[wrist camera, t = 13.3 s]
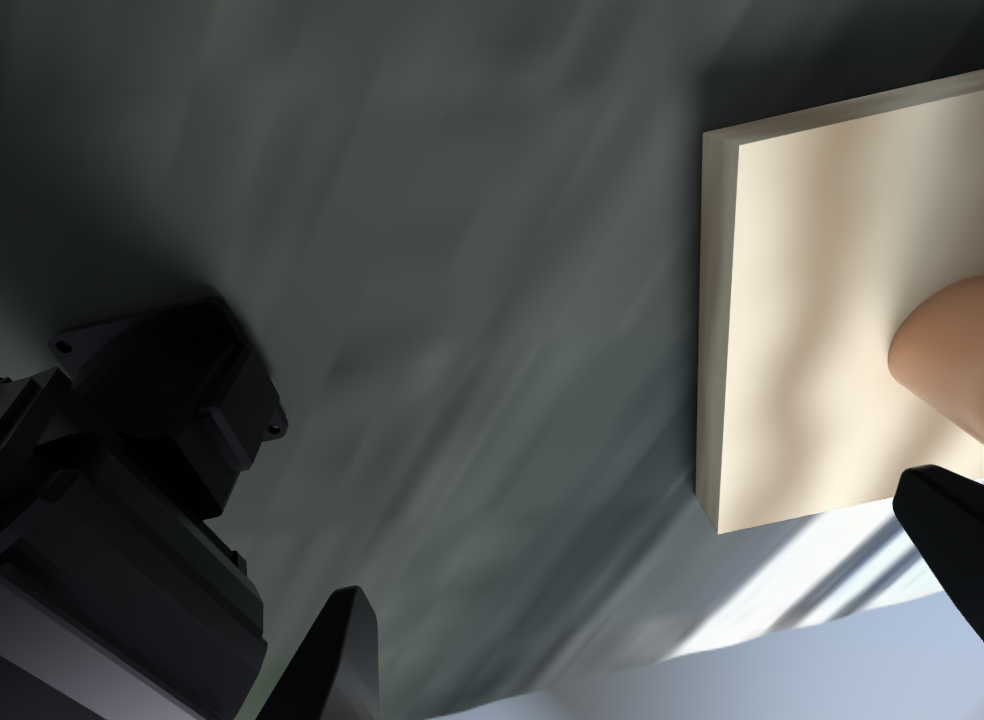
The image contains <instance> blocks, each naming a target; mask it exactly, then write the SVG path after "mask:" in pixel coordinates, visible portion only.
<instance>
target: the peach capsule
mask: <svg viewBox="0 0 984 720" xmlns="http://www.w3.org/2000/svg"><path fill="white" fill-rule="evenodd" d="M888 368H889V371H890V373H891V375H892V377H893V378H894V379H895V380H896V381H897V382H898V383H899V384H901V385H902V386H904V387H905V388H906V389H908V390H909V391H910V392H912V393H913V394H914V395H916V396H917V397H918V398H920V399H921V400H923V401H924V402H925V403H927V404H928V405H929V406H931V407H932V408H933V409H935V410H936V411H937V412H939V413H940V414H942V415H943V416H944V417H946V418H947V419H948V420H950V421H951V422H952V423H954V424H955V425H956V426H958V427H959V428H961V429H962V430H963V431H965V432H966V433H967V434H969V435H970V436H971V437H973V438H974V439H975V440H977V441H978V442H980V443H981V444H982V445H984V276H978V277H971V278H968V279H964V280H961V281H958V282H956V283H953V284H951V285H949V286H947V287H945V288H943V289H941V290H940V291H938V292H936V293H935V294H933V295H932V296H930V297H929V298H927V299H926V300H925V301H924V302H922V303H921V304H920V305H919V306H918V307H917V308H916V309H915V310H914V311H912V312H911V314H910V315H909V316H908V317H907V318H906V319H905V320H904V322H903V323H902V325H901V326H900V327H899V329H898V331H897V332H896V334H895V336H894V338H893V340H892V342H891V345H890V348H889V353H888Z"/></svg>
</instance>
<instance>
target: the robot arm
mask: <svg viewBox="0 0 984 720" xmlns="http://www.w3.org/2000/svg"><path fill="white" fill-rule="evenodd" d="M207 308H213V309H215V310H216V311H217V312H218V315H212V314H210V313H209V312H208V309H207ZM63 341H65V342H67V343H69V344H70V345H71V347H72V348H71V347H68V346H66V345H65V344H64V343H63ZM48 346H49V348H50V350H51V351H52V352H53V354H54V355H55V356H56V358H57V359H58V360H59V362H60V363H61V364H62V366H63V367H64V368H65V369H66V371H67V372H68V373H69V375H70V376H71V377H70V378H68V377H67V376H66V375H65V374H64V373H63V372H62V371H61V370H60V369H59V368H58V367H54V368H51V369H49V370H46V371H44V372H41V373H38V374H36V375H33V376H30V377H28V378H24V379H20V380H16V381H12V380H11V379H10V378H9V377H6V378H0V720H234V719H235V717H236V716H237V714H238V712H239V710H240V708H241V707H242V705H243V703H244V701H245V699H246V697H247V695H248V693H249V692H250V690H251V688H252V686H253V684H254V682H255V680H256V678H257V676H258V674H259V672H260V669H261V666H262V663H263V660H264V657H265V654H266V651H267V644H268V643H267V642H266V640H265V639H264V638H263V637H262V634H263V602H262V600H261V598H260V596H259V594H258V591H257V589H256V587H255V585H254V584H253V583H252V582H251V581H250V580H249V579H248V578H247V565H246V560H245V559H244V558H243V557H242V556H241V555H240V554H239V553H238V552H237V551H231V550H230V549H229V548H228V547H227V546H226V545H225V544H224V543H223V542H222V541H221V540H220V539H219V538H218V536H217V535H216V534H215V533H214V532H213V531H212V530H211V529H210V528H209V527H208V526H207V525H206V524H205V523H204V522H203V520H206V519H210V518H215V517H218V516H220V515H221V514H222V513H223V510H224V508H225V506H226V504H227V501H228V499H229V497H230V494H231V492H232V490H233V488H234V485H235V483H236V481H237V478H238V476H239V474H240V472H241V471H245V470H249V469H250V467H251V465H252V464H253V462H254V459H255V457H256V455H257V452H258V450H259V447H260V445H261V443H262V442H265V441H270V440H274V439H279V438H281V437H283V436H284V435H285V434H286V431H287V428H288V421H287V419H286V417H285V415H284V413H283V411H282V409H281V407H280V405H279V404H278V402H279V399H280V397H279V395H278V393H277V391H276V389H275V387H274V385H273V383H272V381H271V379H270V377H269V375H268V373H267V372H266V370H265V368H264V366H263V364H262V362H261V360H260V358H259V356H258V354H257V352H256V350H255V349H254V348H253V347H251V346H250V345H248V344H247V342H246V340H245V338H244V336H243V334H242V332H241V331H240V329H239V327H238V325H237V323H236V321H235V319H234V317H233V315H232V313H231V311H230V309H229V307H228V306H227V305H226V303H225V302H224V301H222V300H221V299H219V298H216V297H207V298H202V299H198V300H193V301H189V302H185V303H180V304H176V305H171V306H167V307H162V308H158V309H153V310H149V311H145V312H140V313H136V314H131V315H127V316H122V317H118V318H113V319H109V320H105V321H100V322H96V323H91V324H87V325H82V326H78V327H73V328H69V329H65V330H61V331H59V332H57V333H56V334H55V335H53V336H52V337H51V338H50V339H49V341H48ZM271 425H276V426H278V427H279V428H273V427H272V426H271ZM892 504H893V510H894V513H895V516H896V518H897V519H898V521H899V522H900V524H901V525H902V527H903V528H904V530H905V531H906V533H907V534H908V536H909V537H910V539H911V540H912V542H913V543H914V545H915V547H916V548H917V550H918V551H919V553H920V554H921V556H922V557H923V559H924V560H925V562H926V563H927V565H928V566H929V568H930V569H931V571H932V572H933V574H934V575H935V577H936V578H937V580H938V581H939V583H940V584H941V586H942V587H943V589H944V590H945V592H946V593H947V595H948V596H949V597H950V599H951V600H952V602H953V603H954V605H955V606H956V607H957V609H958V610H959V611H960V612H961V614H962V615H963V616H964V617H965V619H966V620H967V622H968V623H969V624H970V625H971V627H972V628H973V629H974V630H975V632H976V633H977V634H978V635H979V637H980V638H981V639H982V640H983V642H984V485H983V484H980V483H978V482H976V481H973V480H971V479H969V478H966V477H964V476H962V475H959V474H957V473H955V472H952V471H950V470H948V469H945V468H943V467H940V466H938V465H934V464H925V465H920V466H915V467H911V468H907V469H905V470H904V471H903V472H902V474H901V476H900V479H899V482H898V486H897V489H896V492H895V495H894V498H893V503H892ZM255 720H379V678H378V628H377V619H376V615H375V612H374V610H373V608H372V607H371V605H370V603H369V601H368V599H367V597H366V595H365V594H364V592H363V590H362V589H361V587H359V586H357V585H354V586H350V587H345V588H340V589H337V590H335V591H334V592H333V593H332V594H331V596H330V597H329V599H328V600H327V602H326V604H325V605H324V607H323V609H322V610H321V612H320V614H319V615H318V617H317V619H316V620H315V622H314V624H313V625H312V627H311V628H310V630H309V632H308V633H307V635H306V637H305V638H304V640H303V642H302V643H301V645H300V647H299V648H298V650H297V652H296V653H295V655H294V657H293V658H292V660H291V662H290V663H289V665H288V666H287V668H286V670H285V671H284V673H283V675H282V676H281V678H280V680H279V681H278V683H277V685H276V686H275V688H274V690H273V691H272V693H271V695H270V696H269V698H268V700H267V701H266V703H265V705H264V706H263V708H262V709H261V711H260V713H259V714H258V716H257V718H256V719H255Z"/></svg>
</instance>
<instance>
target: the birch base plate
mask: <svg viewBox="0 0 984 720" xmlns="http://www.w3.org/2000/svg"><path fill="white" fill-rule="evenodd" d="M978 276H984V69H981V70H977V71H973V72H968V73H964V74H959V75H955V76H951V77H946V78H942V79H937V80H933V81H929V82H924V83H920V84H915V85H911V86H906V87H902V88H898V89H893V90H889V91H884V92H880V93H876V94H871V95H867V96H862V97H858V98H854V99H849V100H845V101H840V102H836V103H832V104H827V105H823V106H818V107H814V108H810V109H805V110H801V111H796V112H792V113H787V114H783V115H779V116H774V117H770V118H765V119H761V120H757V121H752V122H748V123H743V124H739V125H735V126H730V127H726V128H721V129H717V130H713V131H708V132H704V133H703V142H702V193H701V244H700V295H699V346H698V397H697V448H696V498H697V499H698V501H699V503H700V505H701V506H702V508H703V510H704V511H705V513H706V515H707V517H708V518H709V520H710V522H711V524H712V525H713V527H714V529H715V530H716V532H717V534H722V533H726V532H731V531H736V530H740V529H745V528H750V527H754V526H759V525H764V524H768V523H773V522H778V521H783V520H787V519H792V518H797V517H801V516H806V515H811V514H815V513H820V512H825V511H829V510H834V509H839V508H843V507H848V506H853V505H857V504H862V503H867V502H872V501H876V500H881V499H886V498H890V497H894V495H895V492H896V489H897V486H898V482H899V479H900V476H901V474H902V472H903V471H904V470H905V469H907V468H911V467H915V466H920V465H925V464H934V465H938V466H940V467H943V468H945V469H948V470H950V471H952V472H955V473H957V474H959V475H962V476H964V477H966V478H969V479H971V480H975V479H979V478H984V445H982V444H981V443H980V442H978V441H977V440H975V439H974V438H973V437H971V436H970V435H969V434H967V433H966V432H965V431H963V430H962V429H961V428H959V427H958V426H956V425H955V424H954V423H952V422H951V421H950V420H948V419H947V418H946V417H944V416H943V415H942V414H940V413H939V412H937V411H936V410H935V409H933V408H932V407H931V406H929V405H928V404H927V403H925V402H924V401H923V400H921V399H920V398H918V397H917V396H916V395H914V394H913V393H912V392H910V391H909V390H908V389H906V388H905V387H904V386H902V385H901V384H899V383H898V382H897V381H896V380H895V379H894V378H893V377H892V375H891V373H890V371H889V368H888V353H889V348H890V345H891V342H892V340H893V338H894V336H895V334H896V332H897V331H898V329H899V327H900V326H901V325H902V323H903V322H904V320H905V319H906V318H907V317H908V316H909V315H910V314H911V312H912V311H914V310H915V309H916V308H917V307H918V306H919V305H920V304H921V303H922V302H924V301H925V300H926V299H927V298H929V297H930V296H932V295H933V294H935V293H936V292H938V291H940V290H941V289H943V288H945V287H947V286H949V285H951V284H953V283H956V282H958V281H961V280H964V279H968V278H971V277H978Z"/></svg>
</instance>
